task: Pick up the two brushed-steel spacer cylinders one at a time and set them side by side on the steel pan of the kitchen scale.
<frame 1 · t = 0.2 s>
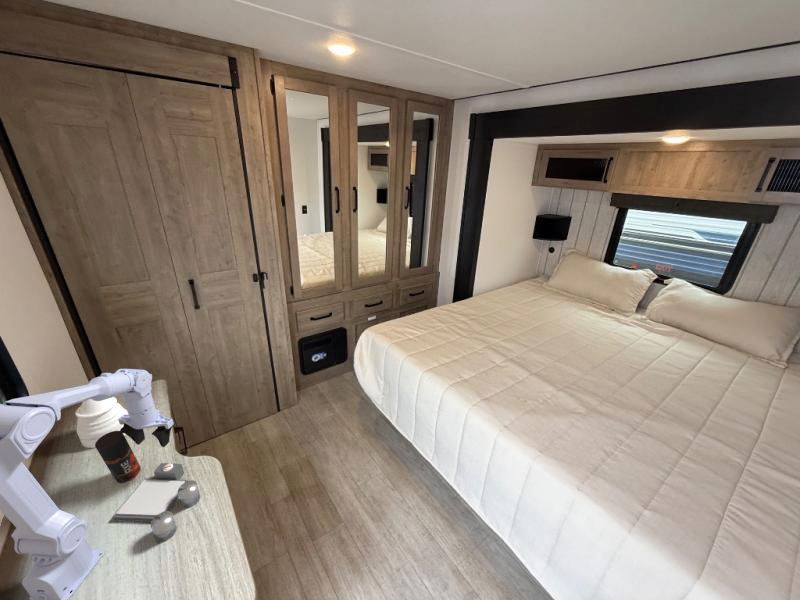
hand: (153, 443, 91), 10 cm above the worktop, fingers open, 7 cm apart
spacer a: (166, 532, 78), on the worktop
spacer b: (191, 500, 86), on the worktop
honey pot: (108, 433, 106), on the worktop
scale: (153, 500, 86), on the worktop
deodorant: (128, 473, 92), on the worktop
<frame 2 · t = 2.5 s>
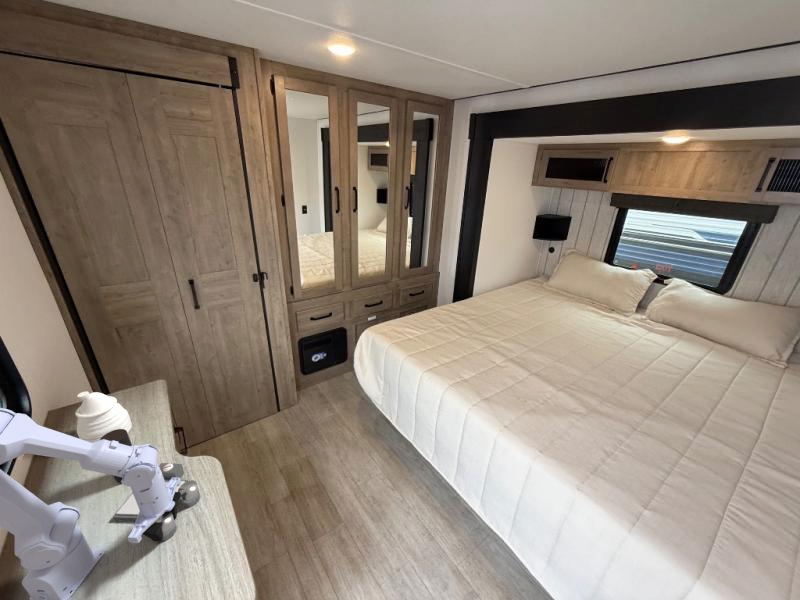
hand: (165, 529, 78), 1 cm above the worktop, fingers closed on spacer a, 4 cm apart
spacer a: (166, 532, 78), on the worktop, touching gripper
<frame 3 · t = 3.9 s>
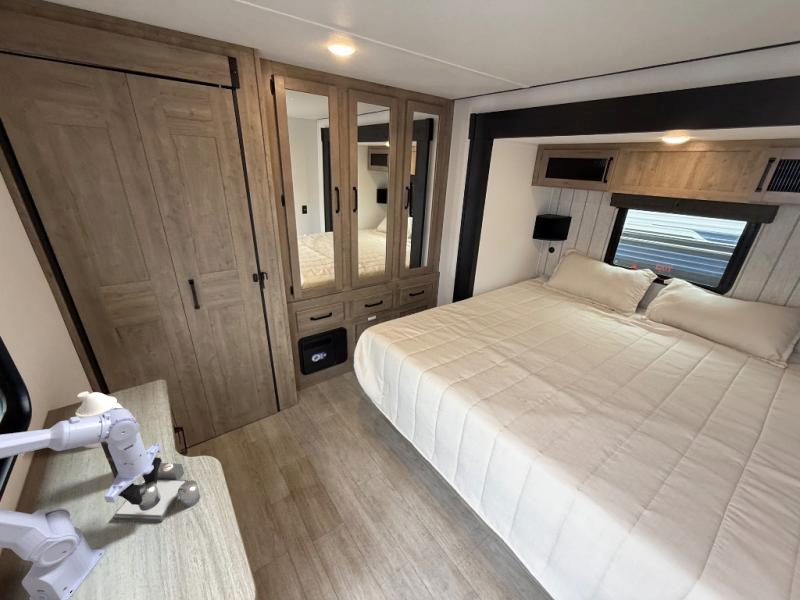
hand: (144, 493, 78), 9 cm above the worktop, fingers closed on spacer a, 4 cm apart
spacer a: (150, 502, 80), point 6 cm above the worktop, touching gripper
everything else where it was.
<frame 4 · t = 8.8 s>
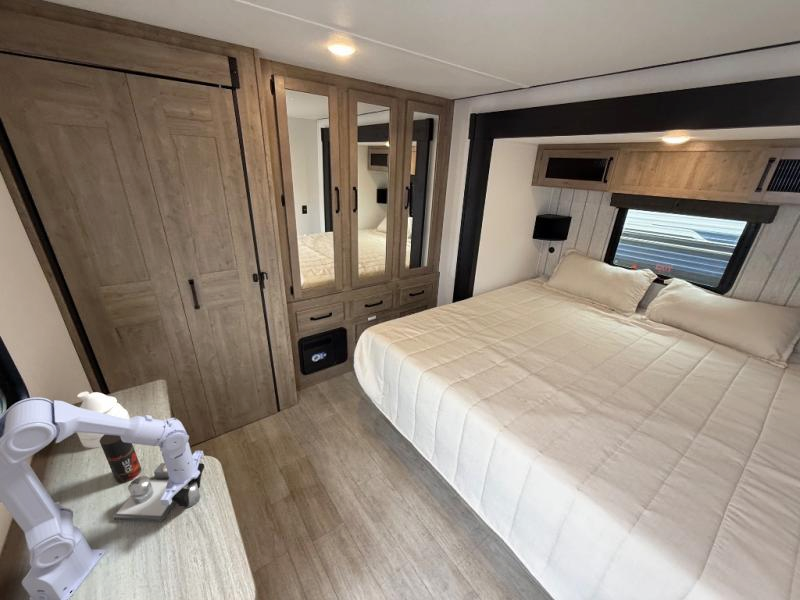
hand: (190, 496, 86), 1 cm above the worktop, fingers closed on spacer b, 4 cm apart
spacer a: (143, 495, 85), point 2 cm above the worktop, touching scale
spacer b: (191, 499, 86), on the worktop, touching gripper
everything else where it was.
when the fingers open (4 cm above the worktop, at t = 11.3 s): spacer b stays where it is, resting on scale.
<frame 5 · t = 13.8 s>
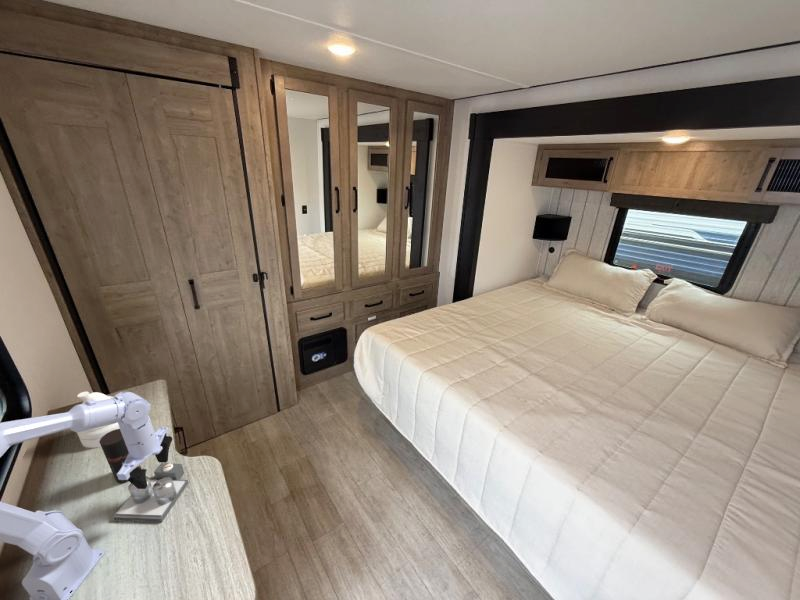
hand: (153, 474, 82), 10 cm above the worktop, fingers open, 7 cm apart
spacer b: (166, 496, 85), point 2 cm above the worktop, touching scale
everything else where it was.
at the end: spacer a inside the target area on the scale (2.4 cm from its centre), point 1.6 cm above the scale's base; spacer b inside the target area on the scale (4.0 cm from its centre), point 1.6 cm above the scale's base; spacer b tilted 0° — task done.
